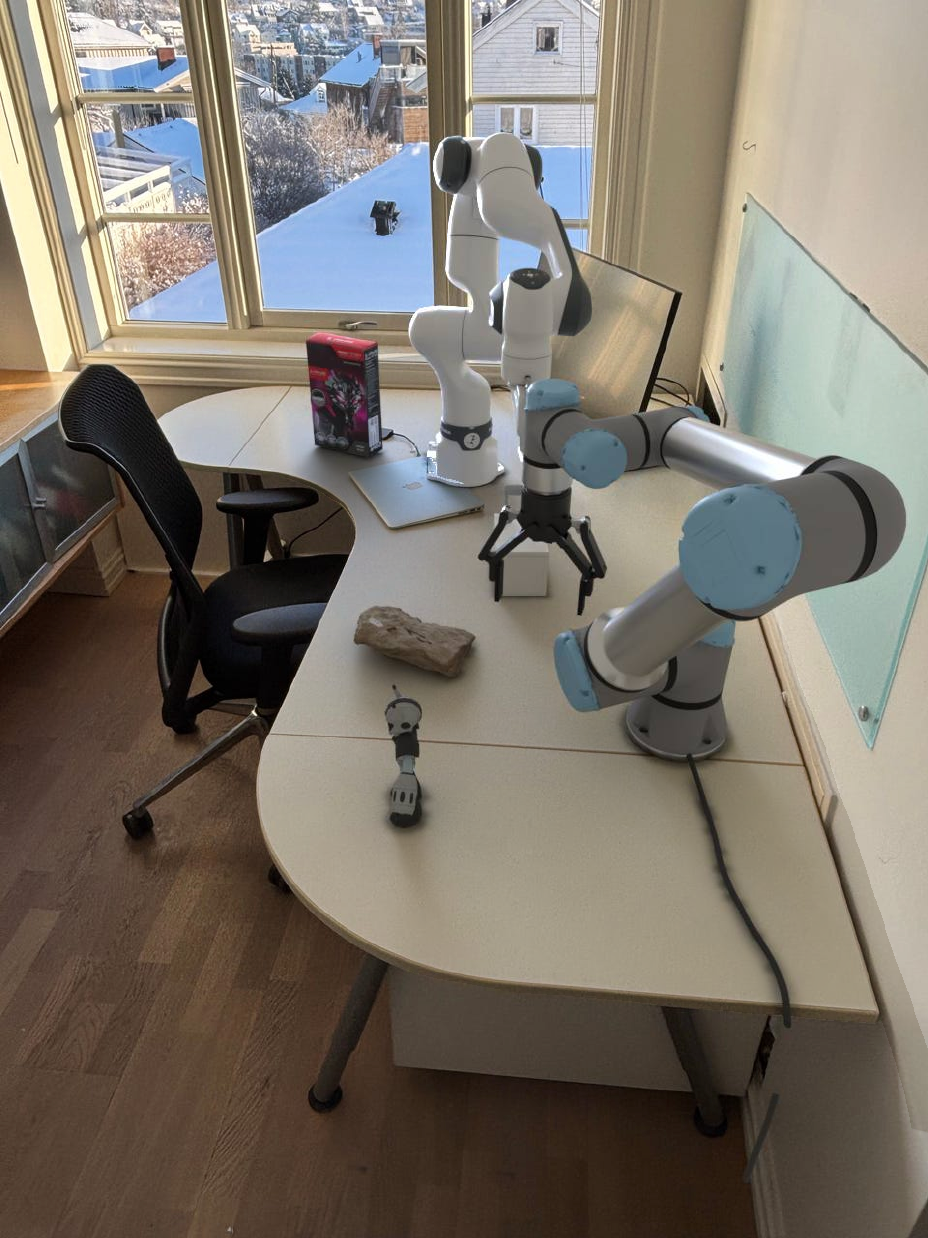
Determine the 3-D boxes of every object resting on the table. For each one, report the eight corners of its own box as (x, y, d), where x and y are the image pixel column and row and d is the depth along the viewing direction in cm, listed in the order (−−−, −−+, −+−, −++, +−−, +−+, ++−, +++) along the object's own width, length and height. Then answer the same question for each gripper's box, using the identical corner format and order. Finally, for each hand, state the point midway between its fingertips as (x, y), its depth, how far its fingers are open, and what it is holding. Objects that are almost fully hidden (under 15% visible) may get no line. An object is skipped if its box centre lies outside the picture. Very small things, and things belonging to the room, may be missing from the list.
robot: (425, 859, 121) (422, 744, 110) (387, 860, 121) (381, 745, 110) (423, 757, 137) (420, 648, 126) (390, 758, 137) (385, 649, 126)
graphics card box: (312, 446, 233) (302, 338, 217) (328, 436, 238) (320, 330, 223) (369, 459, 226) (363, 349, 211) (384, 449, 231) (380, 341, 216)
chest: (492, 557, 187) (494, 519, 183) (539, 557, 188) (542, 519, 183) (495, 596, 175) (497, 556, 170) (546, 596, 175) (548, 556, 170)
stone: (330, 651, 154) (336, 619, 151) (363, 622, 167) (369, 592, 165) (447, 693, 150) (456, 661, 148) (471, 659, 164) (479, 629, 161)
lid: (493, 517, 183) (495, 477, 178) (542, 517, 183) (544, 477, 178) (497, 556, 170) (498, 514, 165) (548, 556, 170) (551, 514, 166)
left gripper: (549, 388, 154) (544, 464, 162) (539, 349, 171) (535, 420, 179) (511, 387, 154) (508, 464, 162) (505, 349, 171) (503, 420, 179)
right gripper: (633, 485, 138) (619, 604, 149) (473, 464, 143) (471, 581, 155) (627, 507, 132) (612, 629, 143) (459, 484, 137) (458, 604, 149)
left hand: (522, 440), depth 171 cm, fingers open, 8 cm apart
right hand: (539, 604), depth 149 cm, fingers open, 13 cm apart
